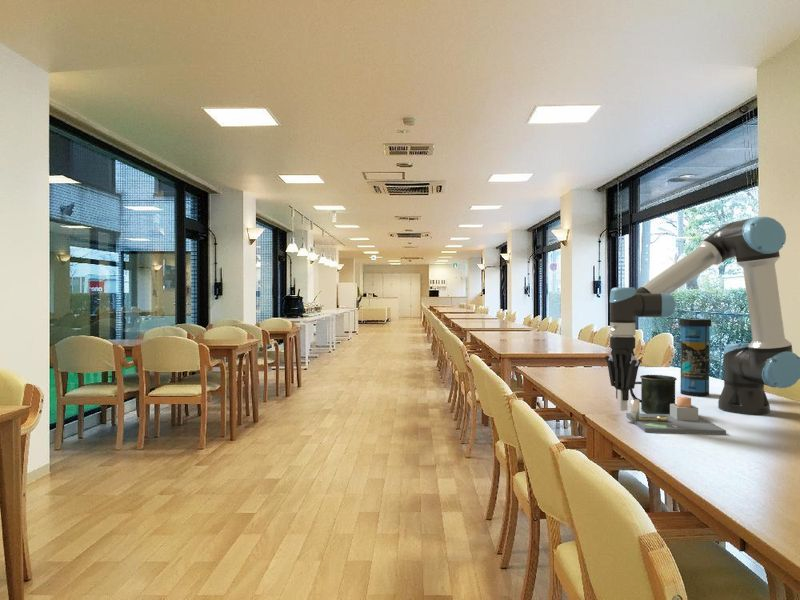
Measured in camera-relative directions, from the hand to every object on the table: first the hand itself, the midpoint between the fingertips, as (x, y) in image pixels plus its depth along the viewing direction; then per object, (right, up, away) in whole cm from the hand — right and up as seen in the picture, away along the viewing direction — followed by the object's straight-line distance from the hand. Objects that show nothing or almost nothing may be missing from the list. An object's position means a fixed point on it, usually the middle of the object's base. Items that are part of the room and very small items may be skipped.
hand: (622, 410), depth 174 cm
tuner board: (+13, -3, -6) cm, 15 cm away
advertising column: (+47, -3, +45) cm, 65 cm away
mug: (+15, -3, +13) cm, 20 cm away
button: (+18, -1, -2) cm, 19 cm away
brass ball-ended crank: (+6, -2, -5) cm, 8 cm away
